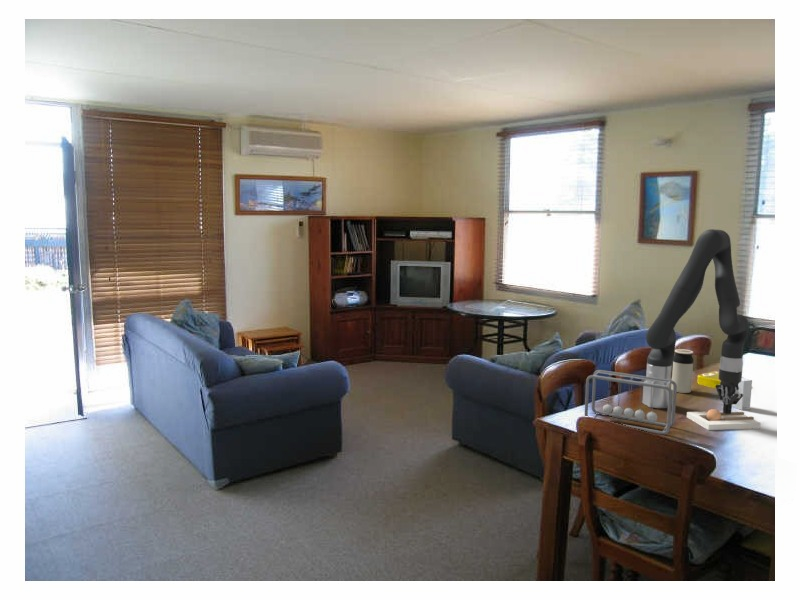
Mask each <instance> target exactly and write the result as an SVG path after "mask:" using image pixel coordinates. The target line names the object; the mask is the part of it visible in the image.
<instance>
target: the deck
mask: <svg viewBox="0 0 800 600" xmlns="http://www.w3.org/2000/svg"><path fill="white" fill-rule="evenodd" d="M708 411H709V410H708ZM708 411H687V412H686V418H687V419H689V420H690V421H693V422H694V423H696V424H697V425H699V426H701V427H702V428H704V429H706V430H707V431H716V430H717V431H719V430H720V431H722V430H723V431H724V430H743V429H744V430H745V429H752V428H753V429H760V428H761V422H759V421H757V420H756V419H754V416H748V415H746V414H745V412H743V411H737V410H731V414H725V413H723V410H718V411H719V412H720V413H721V420H720V421H709V420H708V419H707V416H706V414H707V412H708Z"/></svg>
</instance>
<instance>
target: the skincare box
mask: <svg viewBox="0 0 800 600" xmlns="http://www.w3.org/2000/svg"><path fill="white" fill-rule="evenodd" d="M752 385H753V380H752V379H749V378H746V377H743V376H742V380H741V382H740V383H739V384H738V387H739V390H738V391H739V393H740V394H743V397H742V398H741V399H740V400H739V401H738V403H737V404H732V408H735V409H739V410H741V411H744V410H745V411H746V410H750V409H751V398H752V388H753V386H752Z"/></svg>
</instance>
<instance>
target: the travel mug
mask: <svg viewBox="0 0 800 600" xmlns="http://www.w3.org/2000/svg"><path fill="white" fill-rule="evenodd" d="M693 353H694V351H692V350H690V349H683V348H679V349H676V348H675V353H674V358H673V360H672V370H671V380H673V381H674V382H675V383H676V385H677V393H678V394H689V393H691V392H692V383H693V371H694V369H693V368H694V358H693ZM670 389H671V390H672V391H673V384H672V383H671V384H670Z"/></svg>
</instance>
